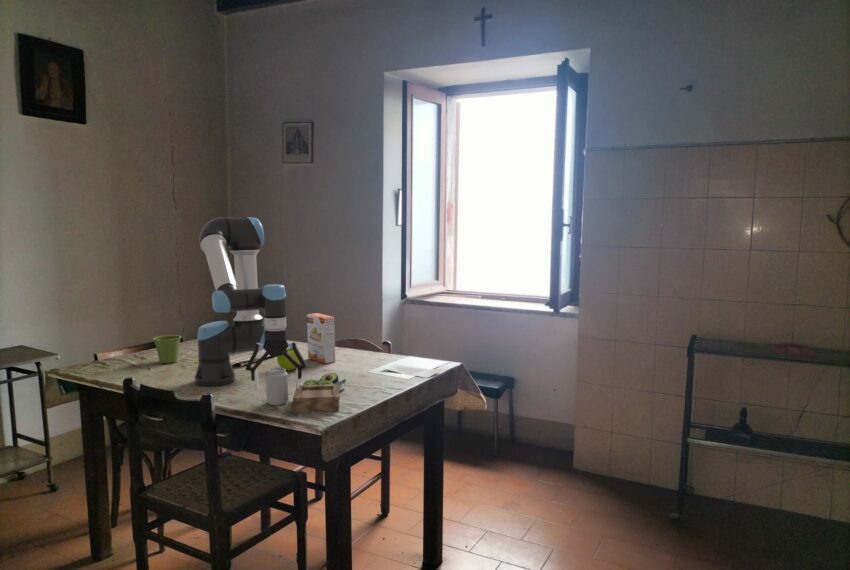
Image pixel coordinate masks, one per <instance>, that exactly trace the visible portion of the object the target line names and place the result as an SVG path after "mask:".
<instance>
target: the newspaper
mask: <svg viewBox="0 0 850 570" xmlns="http://www.w3.org/2000/svg"><path fill="white" fill-rule="evenodd" d="M288 348H289V347H288ZM288 348H287V349H288ZM265 352H266V350H265V349H262V350H259V351H258V353H257V355H256V357H255V359H254V361H253V362H254V363H257V362H258V361H259V359H260V358H261V357H262V356H263V355H264V354H265ZM252 354H253V352H252V353H249V354H245V355H242V356H238V357H236V358H233V359H230V362H233V363H239V364H238V365H240V366H239V368H242V367H245V366H247V364H248V362H249V360H250V358H251V356H252ZM268 357H269V358H272V357H271V356H270V355H268V356H267V357H266V359H268ZM256 361H257V362H256ZM244 365H245V366H244ZM241 366H242V367H241Z"/></svg>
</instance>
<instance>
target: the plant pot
mask: <svg viewBox="0 0 850 570" xmlns="http://www.w3.org/2000/svg"><path fill="white" fill-rule="evenodd" d="M181 339H182V335H176V334H175V335H174V334H171V335H160V336H155V337H152V340H153V341H154V345H155V348H156V351H157V356H158V360H159V363H160V362H161V363H160V364H163V363H166V364H172V363H171V362H175V361H178V356H179V348H180V343H181ZM175 363H176V362H175Z"/></svg>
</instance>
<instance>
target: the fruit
mask: <svg viewBox="0 0 850 570" xmlns="http://www.w3.org/2000/svg"><path fill="white" fill-rule="evenodd" d="M286 350H287V351H288V352H289V354H290V355H291V356H292V357H293V358H294V359H295V360H296V361H297V362H298V363H299V364H300V361H299V360H298V358H297V356H296V354H295V353H294V351H293V349H291V348H290V347H288V349H286ZM276 361H277V364H278V366H279V368H284V369H286V370H288V371H293V370H294V369H297V368H296V367H295V366H294V365H293V364H292V363H291V362H290V361H289V360H288V359H287V358H286V357H285V356H284V355H281V356H276Z"/></svg>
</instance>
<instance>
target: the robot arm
mask: <svg viewBox="0 0 850 570" xmlns="http://www.w3.org/2000/svg"><path fill="white" fill-rule="evenodd" d="M198 240H199V242H198V243H199V246H200V249H201V250H200V251H202V252H203V253H204V254H205V258H206V262H207V264H208V268H209V272H210V275H211V279H212V283H213V287H214V289H215V291H213V292H212V294H211V305H212V310H213V311H214V312H215V313H225V314H226V313H234V312H236V316H235V317H234V318H233V320H232V322H233V323H231V324H230V323H229V321H228V320H218V321H217V320H216V321H212V322H209V323H205V324H202V325H201V326H199V327H198V329H197V337H196V339H197V346H198V347H197V349H198V351H197V352H198V354H197V355H198V366H197V368H196V373H195V374H194V384H195V385H197V386H201V387H216V386H218V387H219V386H224V385H228V384H230V383H233V382H235V381H236V373H235V371H234V368H233V366H232V365H231V363H230V360H231V354H240V353H248V352H252V353H253V354H252V353H251V354H252V356H251V358H250V360H249V362H248V364H247V365H245V371H249V372H250V375H251V376H250V378H251V381H252V382H253V381H254V391H255V392H257V391H258V390H259V371H258V370H257V369H258V368H259V366H260V365H261V364H262V363H263V362H264V361H265V360H266V359H267V358H266V357H267V356H268V355H270V356H272V357H277V356H281V355H284V356H285V357H286V358H287V359H288V360H289V361H290V362H291V363H292V364H293V365H294V366H295V367H296V368H295V390H296V389H298V388H299V386H300V383H299V382H300V381H299V380H301V379H302V377H303V376H302V375H303V370H304V369H306V368H307V366H308V365H307V362H306V360H305V359H304V358H303V355H302V354H301V352H300V351H299V348H298V346H297V342H296V341H293V342H288V340H287V339H288V338H287V337H288V336H287V335H288V334H287V329H286V328H287V302H286V300H287V299H286V297H287V294H286V287H285V285H284V284H278V283H273V284H272V283H271V284H265V285H263V287H259V286H258V285H259V283H258V268H257V267H258V265H257V264H258V262H257V255H258V253H259V252H260V251H261V247H263V246H264V244H265V231H264V227H263V225H262V223H261V221H260V220H259V219H258V218H257V217H249V216H241V217H239V216H237V217H236V216H233V217H232V216H231V217H230V216H229V217H226V216H219V217H215V218H213V219H211V220H209V221H208V222H207V223H206V224H205V225H204V226H203V227H202V229H201V231H200V233H199V238H198ZM227 247H229V253H231V254H232V255H233V259H234V260H233V261H234V270H233V268H232V267H233V266H232V265H231V262H230V257H229V256H228V252H227V249H226V248H227ZM260 310H263V316H262V315H261V314H260ZM287 348H289V349H290V348H291V349H293V351H294V353H295V354H296V356H297V358H298V360H299V363H298V362H297V361H296V360H295V359H294V358H293V357H292V356H291V355H290V354H289V352H288V351H287V350H286V349H287ZM264 349H265V350H266V352H265V354H264V355H263V356H262V357H261V358H260V359H259V361H257V362H255V364H254V363H253V361H254V359H255V357H256V355H257V353H258V351H261V350H264ZM265 358H266V359H265ZM253 364H254V365H253ZM252 365H253V366H252Z"/></svg>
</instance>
